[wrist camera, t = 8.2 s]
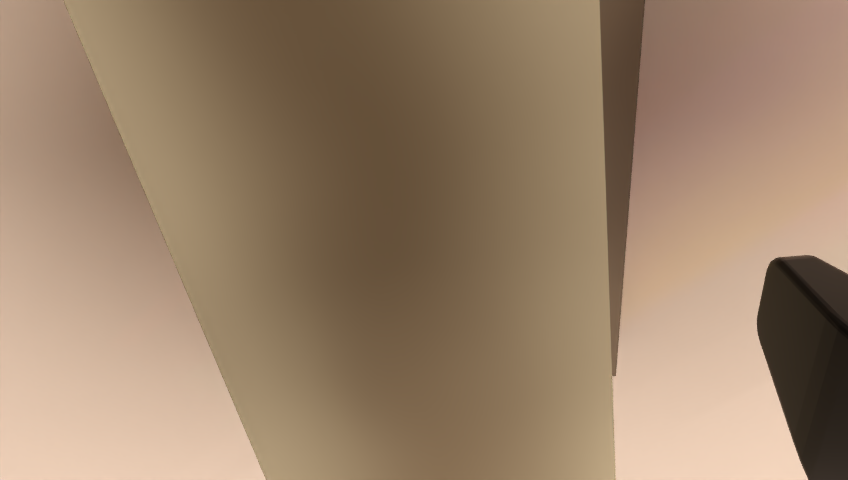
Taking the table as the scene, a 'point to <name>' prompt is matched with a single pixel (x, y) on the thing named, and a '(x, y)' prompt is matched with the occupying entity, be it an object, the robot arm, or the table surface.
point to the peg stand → (619, 134)
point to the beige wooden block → (382, 223)
